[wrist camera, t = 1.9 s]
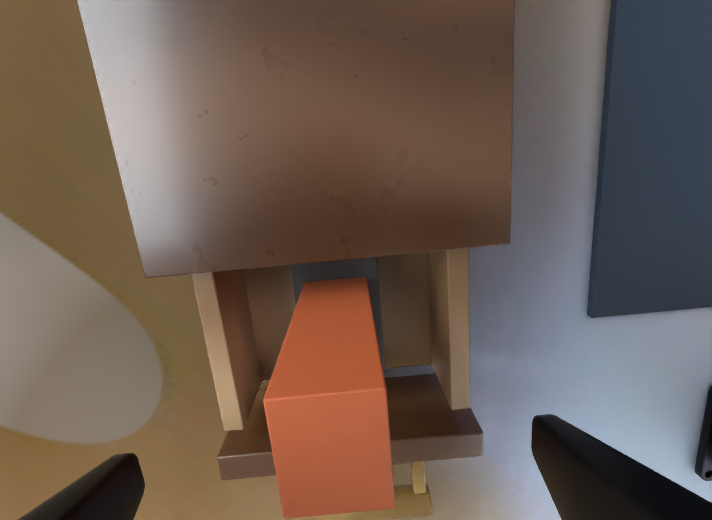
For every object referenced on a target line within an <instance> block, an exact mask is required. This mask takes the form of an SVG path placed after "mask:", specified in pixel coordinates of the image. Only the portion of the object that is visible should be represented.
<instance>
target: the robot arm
mask: <svg viewBox="0 0 712 520" xmlns="http://www.w3.org/2000/svg"><path fill="white" fill-rule="evenodd" d="M531 447H532V453H533V456H534V459H535V461H536V463H537V465H538V468H539V470H540V472H541V474H542V477H543V479H544V481H545V483H546V486H547V488H548V490H549V492H550V495H551V497H552V499H553V501H554V503H555V506H556V508H557V510H558V512H559V515H560V517H561V519H562V520H712V503H711V502H709V501H707V500H705V499H704V498H702V497H700V496H698V495H696V494H695V493H693V492H691V491H689V490H687V489H686V488H684V487H682V486H680V485H679V484H677V483H675V482H673V481H671V480H670V479H668V478H666V477H664V476H662V475H661V474H659V473H657V472H655V471H653V470H652V469H650V468H648V467H646V466H645V465H643V464H641V463H639V462H637V461H636V460H634V459H632V458H630V457H628V456H627V455H625V454H623V453H621V452H619V451H618V450H616V449H614V448H612V447H611V446H609V445H607V444H605V443H603V442H602V441H600V440H598V439H596V438H594V437H593V436H591V435H589V434H587V433H585V432H584V431H582V430H580V429H578V428H577V427H575V426H573V425H571V424H569V423H568V422H566V421H564V420H562V419H560V418H559V417H557V416H555V415H552V414H547V415H537V416H535V417H534V418H533V421H532V443H531ZM695 473H696V474H697V475H698V476H699V477H701V478H702V479H703V480H705V481H711V480H712V386H711V387H710V389H709V393H708V399H707V404H706V410H705V416H704V421H703V427H702V432H701V438H700V444H699V449H698V455H697V460H696V466H695ZM144 488H145V483H144V478H143V475H142V471H141V468H140V464H139V461H138V458H137V456H136V455H135V454H133V453H126V454H117V455H114V456H112V457H111V458H109V459H108V460H106V461H105V462H103V463H102V464H100V465H99V466H97V467H96V468H94V469H93V470H91V471H90V472H88V473H87V474H85V475H84V476H82V477H81V478H79V479H78V480H76V481H75V482H73V483H72V484H70V485H69V486H67V487H66V488H64V489H63V490H61V491H60V492H58V493H57V494H55V495H54V496H52V497H51V498H49V499H48V500H46V501H45V502H43V503H42V504H41V505H39V506H38V507H36V508H35V509H33V510H32V511H30V512H29V513H27V514H26V515H24V516H23V517H21V518H20V519H18V520H133V519H134V517H135V514H136V512H137V509H138V507H139V504H140V501H141V499H142V496H143V493H144Z"/></svg>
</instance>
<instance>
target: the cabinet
mask: <svg viewBox="0 0 712 520" xmlns="http://www.w3.org/2000/svg"><path fill="white" fill-rule="evenodd" d="M77 2H78V7H79V11H80V15H81V19H82V23H83V27H84V31H85V35H86V39H87V43H88V47H89V51H90V55H91V59H92V63H93V67H94V71H95V75H96V80H97V84H98V88H99V92H100V96H101V100H102V104H103V108H104V112H105V116H106V120H107V124H108V128H109V132H110V136H111V140H112V144H113V148H114V153H115V157H116V161H117V165H118V169H119V173H120V177H121V181H122V185H123V189H124V193H125V197H126V201H127V205H128V209H129V213H130V217H131V221H132V225H133V230H134V234H135V238H136V242H137V246H138V250H139V254H140V258H141V262H142V266H143V270H144V274H145V277H146V278H153V277H164V276H175V275H186V274H196V273H207V272H218V271H229V270H240V269H250V268H261V267H272V266H283V265H293V264H304V263H315V262H326V261H337V260H347V259H358V258H369V257H380V256H391V255H401V254H412V253H423V252H434V251H444V250H455V249H466V248H477V247H488V246H498V245H509V244H510V224H511V170H512V116H513V63H514V9H515V0H77Z"/></svg>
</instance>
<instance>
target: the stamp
mask: <svg viewBox="0 0 712 520" xmlns="http://www.w3.org/2000/svg"><path fill="white" fill-rule="evenodd" d="M290 270H291V277H292V284H293V292H294V299H295V306H296V308H295V311H294V313H293V316H292V319H291V322H290V325H289V328H288V331H287V333H286V336H285V339H284V342H283V345H282V348H281V351H280V353H279V356H278V359H277V362H276V365H275V368H274V371H273V374H272V376H271V379H270V382H269V385H268V388H267V391H266V394H265V396H264V399H263V402H264V408H265V414H266V419H267V425H268V431H269V436H270V442H271V448H272V453H273V459H274V465H275V470H276V476H277V482H278V487H279V493H280V499H281V504H282V510H283V516H284V518H285V519H289V518H299V517H310V516H321V515H331V514H342V513H352V512H363V511H373V510H384V509H394V508H395V494H394V481H393V468H392V455H391V442H390V429H389V417H388V404H387V391H386V384H385V379H384V373H383V372H385V358H384V345H383V332H382V319H381V306H380V293H379V280H378V267H377V257H369V258H358V259H347V260H337V261H326V262H315V263H304V264H293V265H290Z"/></svg>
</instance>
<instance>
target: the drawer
mask: <svg viewBox="0 0 712 520" xmlns="http://www.w3.org/2000/svg"><path fill="white" fill-rule="evenodd" d="M377 267H378V280H379V293H380V306H381V319H382V332H383V345H384V358H385V369H386V368H397V367H407V366H418V365H429V364H432V366H433V368H434V370H435V373H434V374H424V375H413V376H402V377H392V378H384V379H385V384H386V391H387V404H388V417H389V429H390V442H391V455H392V464H401V463H411V474H412V484H411V485H401V486H394V494H395V508H394V509H384V510H373V511H363V512H352V513H342V514H331V515H321V516H310V517H299V518H289V519H287V520H400V519H411V518H421V517H431V516H432V502H431V496H430V491H429V487H428V485H427V484H426V481H425V461H433V460H443V459H454V458H465V457H475V456H483V431H482V429H481V427H480V425H479V423H478V421H477V419H476V417H475V415H474V413H473V412H472V410H471V408H470V325H469V248H466V249H455V250H444V251H434V252H423V253H412V254H401V255H391V256H380V257H377ZM191 276H192V280H193V285H194V290H195V294H196V299H197V304H198V308H199V313H200V318H201V323H202V327H203V332H204V337H205V341H206V346H207V351H208V355H209V360H210V365H211V370H212V374H213V379H214V384H215V388H216V393H217V398H218V402H219V407H220V412H221V417H222V421H223V426H224V430H225V431H228V433H227V436H226V438H225V440H224V443H223V445H222V447H221V449H220V452H219V454H218V456H217V460H218V465H219V469H220V474H221V478H222V480H232V479H242V478H253V477H264V476H274V475H276V470H275V465H274V459H273V453H272V448H271V442H270V436H269V431H268V425H267V419H266V414H265V408H264V402H263V399H264V396H265V394H266V391H267V389H264V390H259V388H260V385H261V382H262V380H269V379H271V376H272V374H273V371H274V368H275V365H276V362H277V359H278V356H279V353H280V351H281V348H282V345H283V342H284V339H285V336H286V333H287V331H288V328H289V325H290V322H291V319H292V316H293V313H294V311H295V308H296V306H295V299H294V292H293V284H292V277H291V270H290V265H283V266H272V267H261V268H250V269H240V270H229V271H218V272H207V273H196V274H191Z"/></svg>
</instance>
